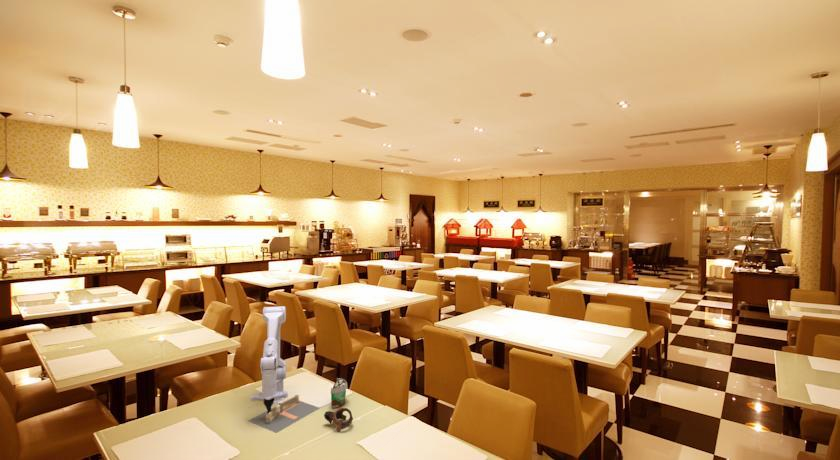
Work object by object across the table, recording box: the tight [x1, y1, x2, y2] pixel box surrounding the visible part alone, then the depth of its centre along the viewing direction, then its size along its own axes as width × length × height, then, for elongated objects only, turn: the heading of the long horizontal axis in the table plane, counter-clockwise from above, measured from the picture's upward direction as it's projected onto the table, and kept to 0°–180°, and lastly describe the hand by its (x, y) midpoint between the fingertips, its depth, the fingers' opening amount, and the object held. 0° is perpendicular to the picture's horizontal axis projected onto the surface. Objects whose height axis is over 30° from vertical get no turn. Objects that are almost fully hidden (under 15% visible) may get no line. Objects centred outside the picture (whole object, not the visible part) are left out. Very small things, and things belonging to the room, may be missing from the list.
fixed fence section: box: [278, 394, 300, 413], centre depth 181 cm, size 2×11×4 cm, turn 149°
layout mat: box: [247, 400, 320, 434], centre depth 175 cm, size 18×24×1 cm
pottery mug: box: [323, 407, 354, 432], centre depth 167 cm, size 12×10×8 cm
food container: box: [330, 377, 349, 409], centre depth 185 cm, size 12×6×10 cm, turn 179°
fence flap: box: [266, 404, 280, 424], centre depth 171 cm, size 9×2×4 cm, turn 168°
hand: (269, 415), depth 171 cm, fingers closed, pressing on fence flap
